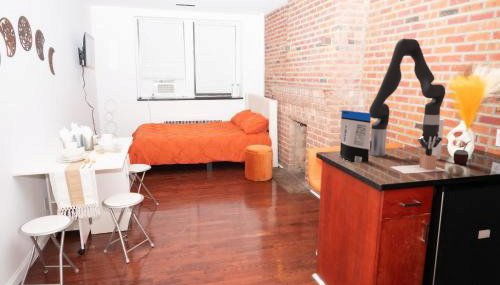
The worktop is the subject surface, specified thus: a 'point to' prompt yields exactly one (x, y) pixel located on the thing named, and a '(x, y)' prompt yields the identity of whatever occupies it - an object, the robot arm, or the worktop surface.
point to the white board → (414, 169)
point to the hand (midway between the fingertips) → (428, 155)
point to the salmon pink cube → (428, 161)
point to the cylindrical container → (437, 149)
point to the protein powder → (355, 136)
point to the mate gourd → (461, 156)
